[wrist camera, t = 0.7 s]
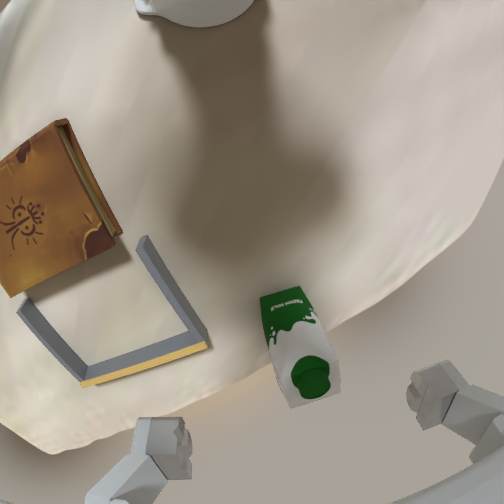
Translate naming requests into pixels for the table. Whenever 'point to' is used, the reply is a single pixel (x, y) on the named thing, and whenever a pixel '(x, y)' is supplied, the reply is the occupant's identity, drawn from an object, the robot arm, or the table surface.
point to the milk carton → (299, 348)
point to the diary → (49, 209)
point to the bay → (135, 359)
